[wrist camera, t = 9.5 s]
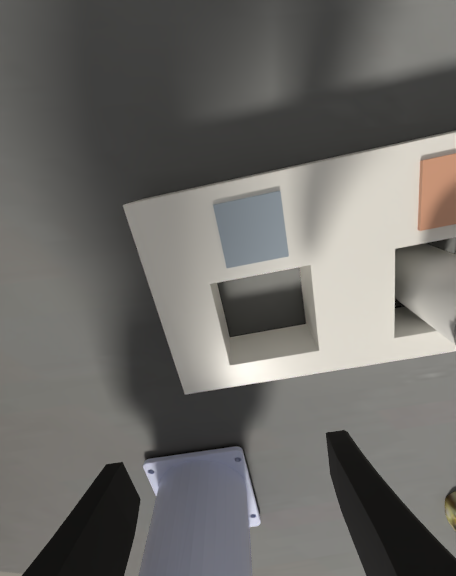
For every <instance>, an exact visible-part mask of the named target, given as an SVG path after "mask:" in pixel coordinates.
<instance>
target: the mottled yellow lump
mask: <svg viewBox="0 0 456 576" xmlns="http://www.w3.org/2000/svg"><path fill="white" fill-rule="evenodd" d="M445 513H446V517H447V519H448V521H449V523H450V524H451V526H452V527H453V529H454V530H455V531H456V491H455V492H453V493H451V494H449V495H448V496H447V497H446V498H445Z"/></svg>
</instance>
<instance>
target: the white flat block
mask: <svg viewBox="0 0 456 576" xmlns="http://www.w3.org/2000/svg"><path fill="white" fill-rule="evenodd" d="M123 208H124V211H125V214H126V217H127V220H128V223H129V226H130V229H131V232H132V235H133V238H134V241H135V244H136V247H137V251H138V254H139V257H140V260H141V263H142V266H143V269H144V272H145V275H146V278H147V281H148V284H149V287H150V290H151V293H152V296H153V299H154V302H155V305H156V308H157V311H158V314H159V317H160V320H161V323H162V327H163V330H164V333H165V336H166V339H167V342H168V345H169V348H170V351H171V354H172V357H173V360H174V363H175V366H176V369H177V372H178V375H179V378H180V381H181V384H182V387H183V390H184V393H185V395H186V394H192V393H198V392H204V391H211V390H217V389H223V388H229V387H236V386H242V385H248V384H254V383H261V382H267V381H273V380H279V379H285V378H292V377H298V376H304V375H310V374H317V373H323V372H329V371H335V370H342V369H348V368H354V367H360V366H366V365H373V364H379V363H385V362H391V361H398V360H404V359H410V358H416V357H422V356H429V355H435V354H441V353H447V352H454V351H456V345H455V344H453V343H452V342H451V341H450V340H448V339H447V338H446V337H444V336H443V335H442V334H441V333H439V332H438V331H437V330H435V329H434V328H433V327H431V326H430V325H429V324H428V323H426V322H425V321H424V320H422V319H421V318H420V317H419V316H417V315H416V314H415V313H413V312H412V311H411V310H409V309H408V308H407V307H400V308H395V249H397V248H402V247H407V246H413V245H418V244H423V243H428V242H434V241H439V240H444V239H449V238H455V237H456V130H455V131H451V132H446V133H442V134H437V135H432V136H428V137H423V138H419V139H414V140H410V141H405V142H400V143H396V144H391V145H387V146H382V147H378V148H373V149H368V150H364V151H359V152H355V153H350V154H346V155H341V156H336V157H332V158H327V159H323V160H318V161H314V162H309V163H304V164H300V165H295V166H291V167H286V168H281V169H277V170H272V171H268V172H263V173H259V174H254V175H249V176H245V177H240V178H236V179H231V180H227V181H222V182H217V183H213V184H208V185H204V186H199V187H195V188H190V189H185V190H181V191H176V192H172V193H167V194H163V195H158V196H153V197H149V198H144V199H140V200H137V201H134V202H131V203H127V204H124V205H123ZM297 267H299V269H300V278H301V286H302V295H303V303H304V311H305V320H306V324H303V325H297V326H291V327H286V328H280V329H274V330H268V331H263V332H257V333H251V334H245V335H240V336H234V337H230V336H229V332H228V327H227V323H226V319H225V315H224V310H223V306H222V302H221V298H220V293H219V289H218V285H217V283H218V282H224V281H229V280H234V279H239V278H245V277H250V276H255V275H260V274H266V273H271V272H276V271H281V270H287V269H292V268H297Z"/></svg>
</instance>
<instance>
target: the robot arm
mask: <svg viewBox="0 0 456 576" xmlns="http://www.w3.org/2000/svg"><path fill="white" fill-rule="evenodd" d="M326 438H327V448H328V457H329V466H330V475H331V478H332V481H333V485H334V488H335V492H336V495H337V498H338V502H339V505H340V508H341V511H342V514H343V516H344V519H345V522H346V524H347V527H348V529H349V532H350V535H351V537H352V540H353V542H354V545H355V547H356V550H357V552H358V555H359V558H360V560H361V563H362V565H363V568H364V570H365V573H366V575H367V576H456V558H455V557H454V556H453V555H452V554H451V553H450V552H449V551H448V550H447V549H446V548H445V547H444V546H443V545H442V544H441V543H440V542H439V541H438V540H437V539H436V538H435V537H434V536H433V535H432V534H431V533H430V532H429V530H428V529H427V528H426V527H425V526H424V525H423V524H422V523H421V522H420V521H419V520H418V519H417V518H416V516H415V515H414V514H413V513H412V512H411V511H410V510H409V509H408V508H407V506H406V505H405V504H404V503H403V502H402V501H401V500H400V499H399V497H398V496H397V495H396V494H395V493H394V491H393V490H392V489H391V488H390V487H389V486H388V484H387V483H386V482H385V481H384V480H383V479H382V477H381V476H380V475H379V474H378V472H377V471H376V470H375V469H374V467H373V466H372V465H371V464H370V462H369V461H368V460H367V459H366V457H365V456H364V455H363V453H362V452H361V451H360V449H359V448H358V446H357V445H356V444H355V442H354V441H353V439H352V438H351V437H350V435H349V433H348V432H346V431H345V430H342V431H335V432H328V433H326ZM143 468H144V470H145V473H146V475H147V477H148V479H149V482H150V484H151V486H152V488H153V490H154V493H155V495H156V501H155V505H154V510H153V514H152V518H151V523H150V527H149V532H148V536H147V541H146V545H145V550H144V554H143V559H142V563H141V567H140V572H139V576H252V560H251V543H250V527H254V526H258V525H260V523H261V520H260V515H259V511H258V507H257V503H256V499H255V496H254V492H253V488H252V484H251V480H250V476H249V472H248V468H247V465H246V461H245V457H244V453H243V450H242V448H240V447H238V446H234V447H227V448H221V449H214V450H207V451H200V452H193V453H186V454H179V455H172V456H165V457H158V458H151V459H147V460H145V461H144V464H143ZM139 506H140V497H139V495H138V493H137V491H136V489H135V487H134V485H133V483H132V481H131V479H130V477H129V475H128V472H127V470H126V468H125V466H124V464H123V462H120V463H113V464H106V466H105V467H104V468H103V470H102V471H101V472H100V474H99V475H98V476H97V478H96V479H95V480H94V482H93V483H92V485H91V486H90V487H89V489H88V490H87V491H86V493H85V494H84V495H83V497H82V498H81V500H80V501H79V502H78V504H77V505H76V506H75V508H74V509H73V510H72V512H71V513H70V514H69V516H68V517H67V518H66V520H65V521H64V522H63V524H62V525H61V526H60V528H59V529H58V530H57V532H56V533H55V534H54V536H53V537H52V538H51V540H50V541H49V542H48V544H47V545H46V546H45V547H44V549H43V550H42V551H41V552H40V554H39V555H38V556H37V557H36V559H35V560H34V561H33V562H32V564H31V565H30V566H29V567H28V569H27V570H26V571H25V572H24V574H23V575H22V576H124V573H125V570H126V566H127V562H128V558H129V555H130V551H131V547H132V543H133V539H134V535H135V530H136V524H137V519H138V512H139Z"/></svg>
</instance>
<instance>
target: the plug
mask: <svg viewBox="0 0 456 576" xmlns="http://www.w3.org/2000/svg"><path fill="white" fill-rule="evenodd" d="M395 299H397V300H398V301H399V302H400V303H402V304H403V305H404V306H406V307H407V308H408V309H409V310H411V311H412V312H413V313H415V314H416V315H417V316H419V317H420V318H421V319H422V320H424V321H425V322H426V323H428V324H429V325H430V326H431V327H433V328H434V329H435V330H437V331H438V332H439V333H441V334H442V335H443V336H444V337H446V338H447V339H448V340H450V341H451V342H452V343H453V344H455V345H456V255H455V254H453V253H450V252H447V251H444V250H442V249H439V248H436V247H434V246H431V245H428V244H425V243H423V244H418V245H413V246H407V247H402V248H398V249H396V250H395Z"/></svg>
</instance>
